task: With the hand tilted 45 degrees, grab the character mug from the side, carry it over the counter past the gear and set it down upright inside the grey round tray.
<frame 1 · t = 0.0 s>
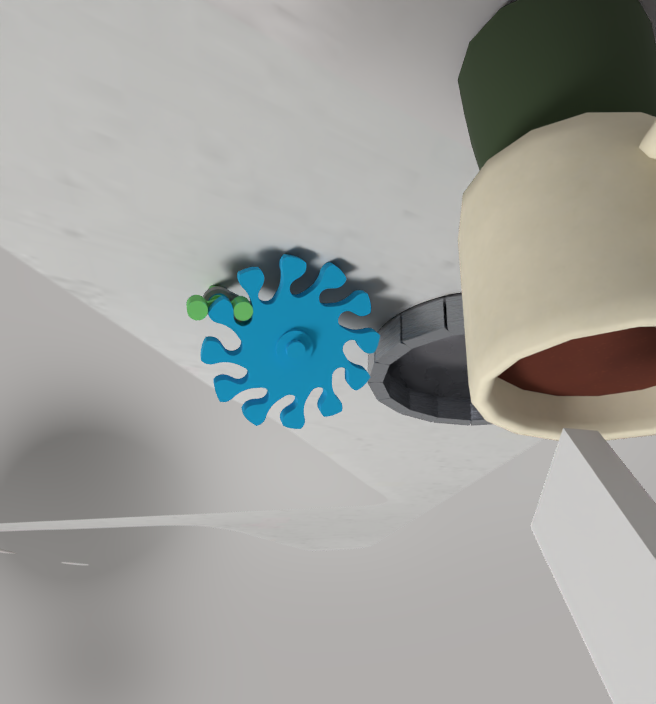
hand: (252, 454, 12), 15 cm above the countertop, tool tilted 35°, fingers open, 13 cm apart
grey round tray: (480, 353, 39), on the countertop
gear: (289, 283, 33), on the countertop
character mug: (547, 56, 20), on the countertop
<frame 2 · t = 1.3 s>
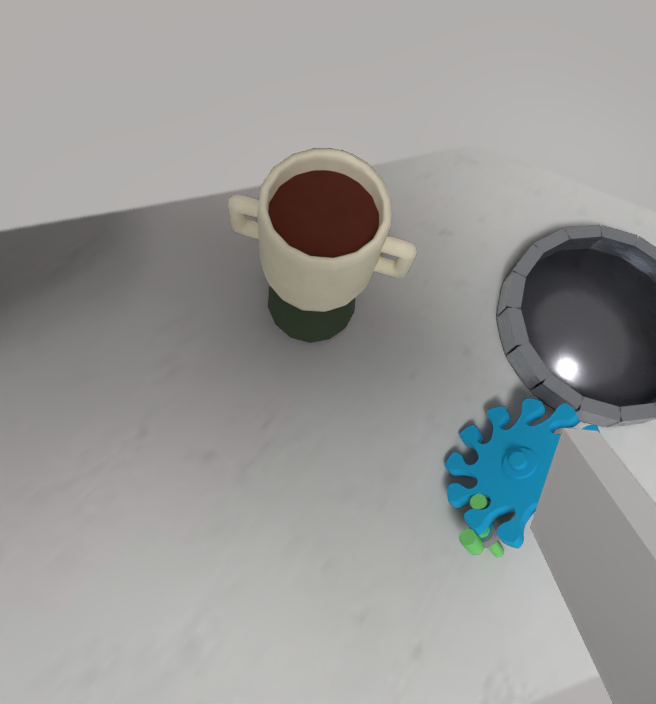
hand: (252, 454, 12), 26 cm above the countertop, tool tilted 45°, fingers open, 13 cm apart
grey round tray: (594, 328, 43), on the countertop
gear: (494, 481, 39), on the countertop
character mug: (310, 305, 42), on the countertop
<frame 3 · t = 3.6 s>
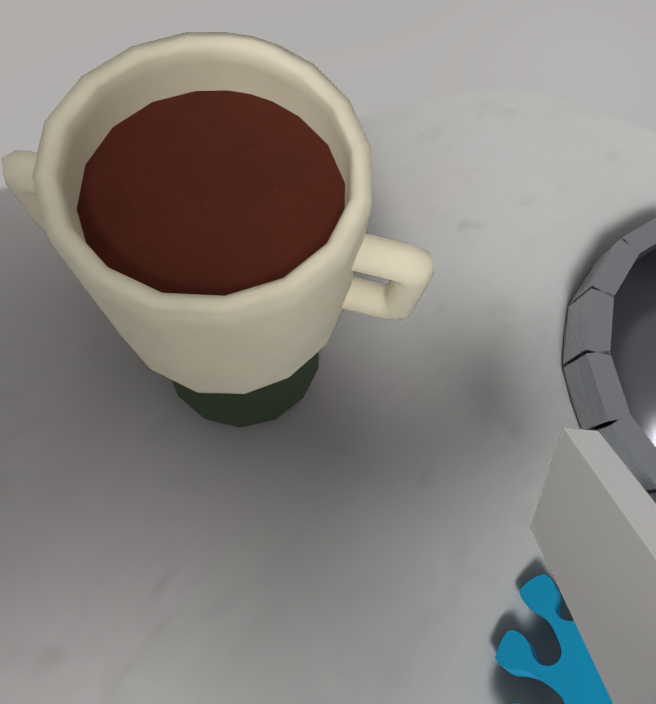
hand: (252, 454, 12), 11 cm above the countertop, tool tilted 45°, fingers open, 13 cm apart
gear: (584, 676, 21), on the countertop
character mug: (245, 357, 24), on the countertop
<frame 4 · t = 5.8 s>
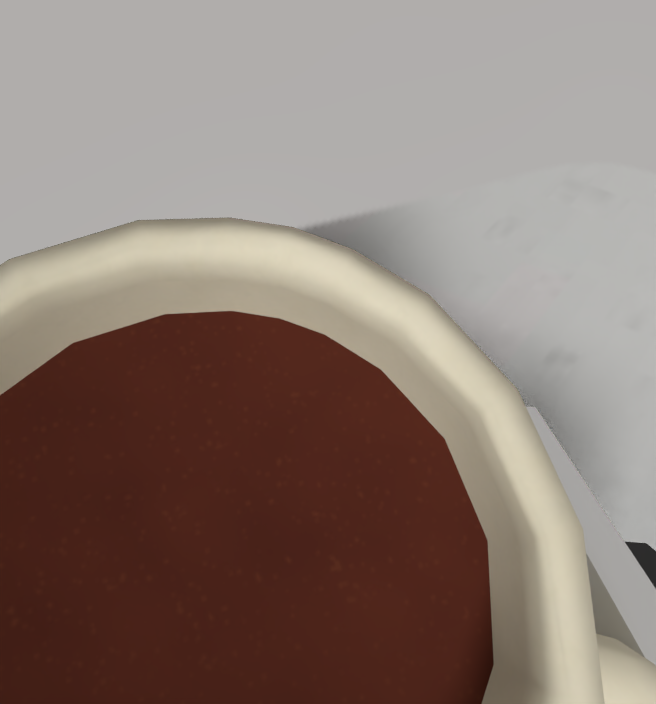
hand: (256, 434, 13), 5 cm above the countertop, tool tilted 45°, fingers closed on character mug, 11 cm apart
character mug: (252, 565, 17), on the countertop, touching gripper
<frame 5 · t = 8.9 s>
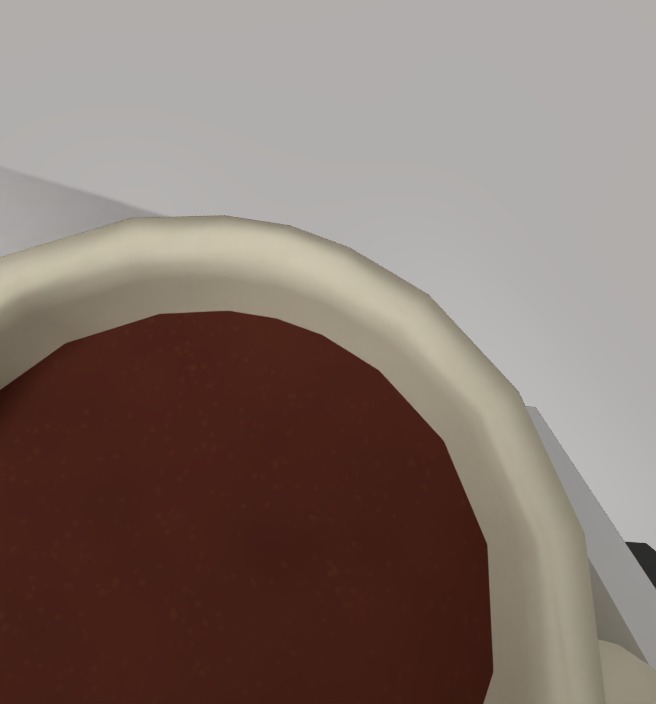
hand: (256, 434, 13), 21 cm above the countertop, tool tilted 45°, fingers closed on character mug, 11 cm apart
character mug: (250, 566, 17), point 15 cm above the countertop, touching gripper
when the fingers open (7 cm above the countertop, at t = 12.3 s): character mug drops 2 cm, resting on grey round tray.
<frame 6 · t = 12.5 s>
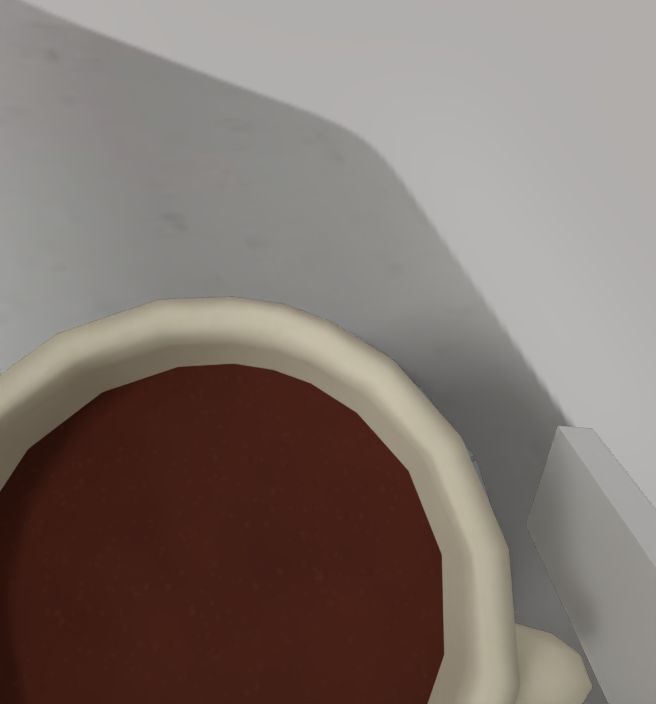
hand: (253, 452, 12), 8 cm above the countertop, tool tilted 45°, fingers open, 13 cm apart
character mug: (248, 567, 18), resting on grey round tray
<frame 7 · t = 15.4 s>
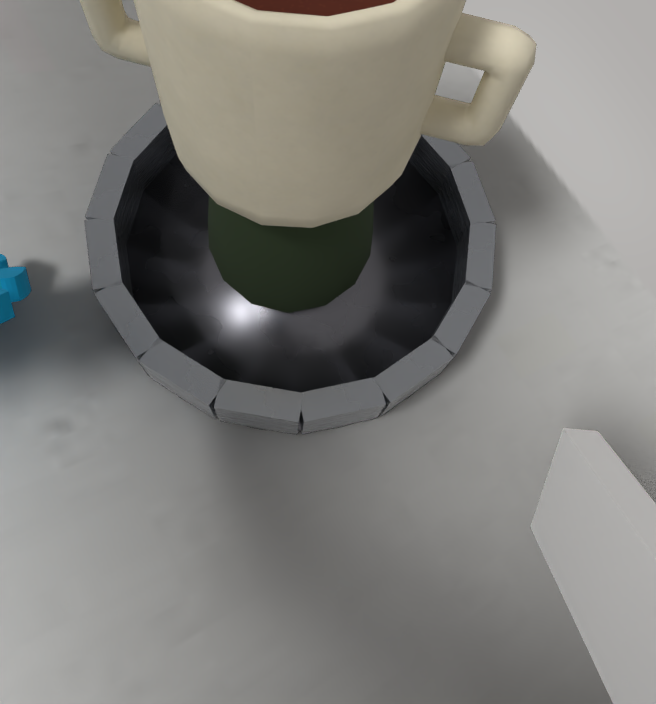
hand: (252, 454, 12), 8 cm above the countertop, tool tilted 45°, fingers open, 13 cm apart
grey round tray: (295, 250, 23), on the countertop
character mug: (290, 249, 23), resting on grey round tray
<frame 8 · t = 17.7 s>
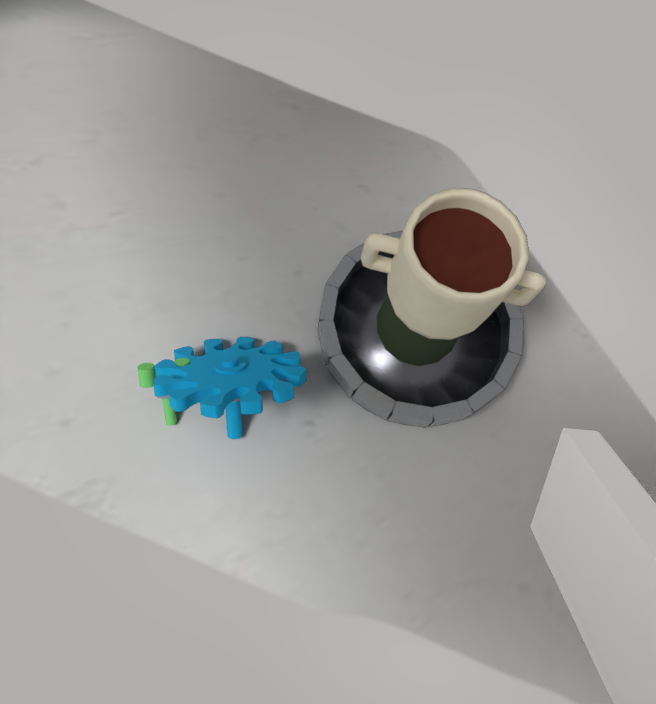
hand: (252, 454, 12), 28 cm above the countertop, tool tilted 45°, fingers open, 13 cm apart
grey round tray: (416, 330, 44), on the countertop
gear: (227, 389, 41), on the countertop
character mug: (414, 330, 43), resting on grey round tray
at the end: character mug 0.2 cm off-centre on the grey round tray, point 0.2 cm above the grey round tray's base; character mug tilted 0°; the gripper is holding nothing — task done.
